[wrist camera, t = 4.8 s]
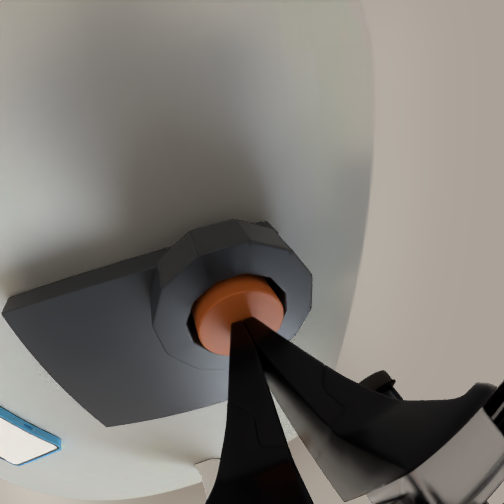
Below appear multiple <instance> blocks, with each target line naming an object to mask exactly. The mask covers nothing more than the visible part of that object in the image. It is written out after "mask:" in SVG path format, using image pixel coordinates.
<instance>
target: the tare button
mask: <svg viewBox="0 0 504 504" xmlns="http://www.w3.org/2000/svg"><path fill="white" fill-rule="evenodd" d="M191 311H192V314H193V318H194V322H195V326H196V329H197V333H198V336H199V339H200V341H201V343H202V344H203V346H204V347H205V348H206V349H208V350H209V351H211V352H213V353H215V354H219V355H225V356H229V354H230V332H231V324H232V323H233V322H236V321H240V320H242V321H243V319H246V318H249V317H252V316H253V317H255V318H257V319H258V320H260V321H261V322H262V323H264V324H265V325H267V326H268V327H270V328H271V329H272V330H274V331H275V332H277V331H278V330H279V328H280V326H281V324H282V321H283V317H284V310H283V306H282V303H281V302H280V300H279V298H278V297H277V295H276V294H275V292H274V291H273V289H272V288H271V287H270V285H269V284H268V282H267V281H266V279H265V278H264V277H263V276H257V275H251V274H242V275H239V276H236V277H232V278H229V279H226V280H222V281H219V282H216V283H215V284H214V285H213V286H212V287H210V288H209V289H208V290H207V291H206V292H205V293H203V294H202V295H201V296H200V297H199V298H198V299H197V300H195V301H194V303H193V305H192V308H191Z"/></svg>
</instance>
